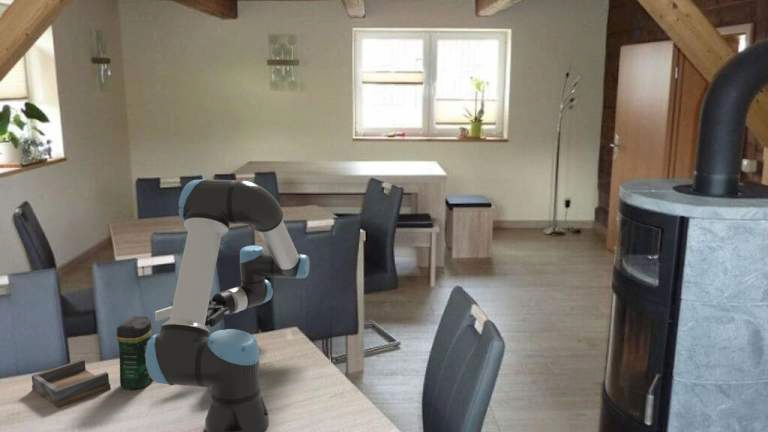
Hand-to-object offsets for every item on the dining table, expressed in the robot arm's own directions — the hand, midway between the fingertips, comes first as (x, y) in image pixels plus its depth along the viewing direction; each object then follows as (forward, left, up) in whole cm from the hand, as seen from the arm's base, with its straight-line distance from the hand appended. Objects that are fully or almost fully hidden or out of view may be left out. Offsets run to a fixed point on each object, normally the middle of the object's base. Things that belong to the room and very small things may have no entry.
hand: (168, 321), depth 186 cm
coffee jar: (0, +11, -15) cm, 18 cm away
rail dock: (+10, +25, -15) cm, 30 cm away
